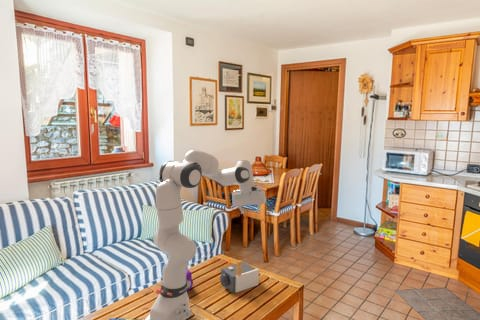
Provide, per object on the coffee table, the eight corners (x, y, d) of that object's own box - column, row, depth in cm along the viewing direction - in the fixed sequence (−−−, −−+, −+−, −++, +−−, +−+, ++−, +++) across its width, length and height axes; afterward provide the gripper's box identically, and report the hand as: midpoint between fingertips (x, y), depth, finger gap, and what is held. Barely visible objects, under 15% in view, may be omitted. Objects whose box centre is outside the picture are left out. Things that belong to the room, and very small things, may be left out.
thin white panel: (234, 291, 174) (235, 261, 171) (257, 283, 183) (258, 254, 180) (236, 292, 172) (237, 262, 170) (259, 284, 181) (260, 255, 179)
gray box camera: (217, 284, 180) (218, 268, 179) (244, 275, 191) (244, 260, 189) (228, 294, 171) (229, 276, 170) (255, 284, 182) (256, 267, 180)
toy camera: (183, 297, 167) (183, 279, 166) (165, 288, 175) (165, 270, 174) (198, 288, 176) (198, 271, 174) (180, 280, 184) (181, 263, 182)
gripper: (228, 191, 188) (232, 215, 187) (260, 187, 178) (264, 212, 177) (234, 190, 193) (237, 213, 192) (265, 186, 184) (268, 210, 183)
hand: (250, 213), depth 185 cm, fingers open, 8 cm apart
